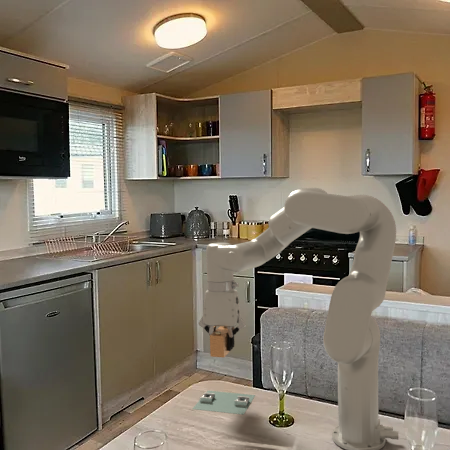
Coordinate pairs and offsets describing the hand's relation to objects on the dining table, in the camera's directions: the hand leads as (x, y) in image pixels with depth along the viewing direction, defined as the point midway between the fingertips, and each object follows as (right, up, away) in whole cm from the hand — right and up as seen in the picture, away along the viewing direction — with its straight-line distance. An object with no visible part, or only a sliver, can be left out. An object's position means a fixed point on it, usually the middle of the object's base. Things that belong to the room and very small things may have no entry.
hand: (222, 348), depth 143 cm
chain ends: (+1, -16, +1) cm, 16 cm away
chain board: (+1, -17, +1) cm, 17 cm away
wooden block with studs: (0, -1, 0) cm, 1 cm away
